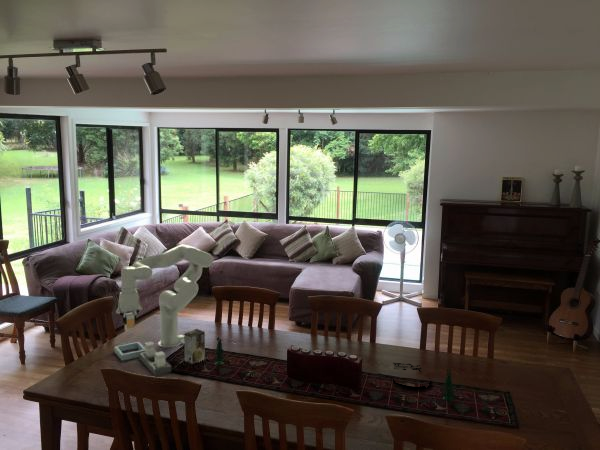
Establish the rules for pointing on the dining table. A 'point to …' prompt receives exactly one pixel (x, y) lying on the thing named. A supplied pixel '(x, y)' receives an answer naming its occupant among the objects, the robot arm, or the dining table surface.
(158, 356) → the front fuse
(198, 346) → the coffee box
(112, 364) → the dining table surface
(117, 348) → the slate tray
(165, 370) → the gray rectangular tray
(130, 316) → the orange fuse
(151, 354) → the back fuse
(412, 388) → the dining table surface
